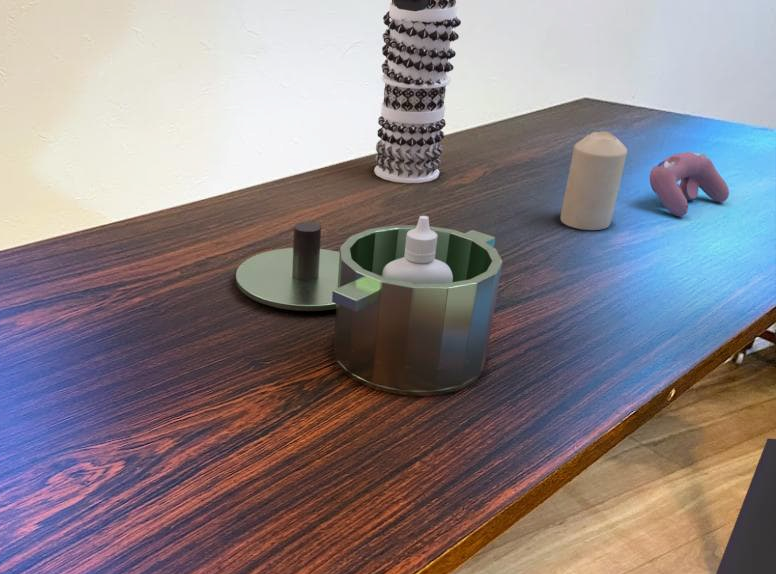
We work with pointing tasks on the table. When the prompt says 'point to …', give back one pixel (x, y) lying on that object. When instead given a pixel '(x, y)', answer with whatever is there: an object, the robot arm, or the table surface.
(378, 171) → the bracelet display stand
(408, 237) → the eye dropper bottle
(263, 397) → the table surface
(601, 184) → the candle
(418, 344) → the pot
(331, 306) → the lid
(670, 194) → the video game controller
